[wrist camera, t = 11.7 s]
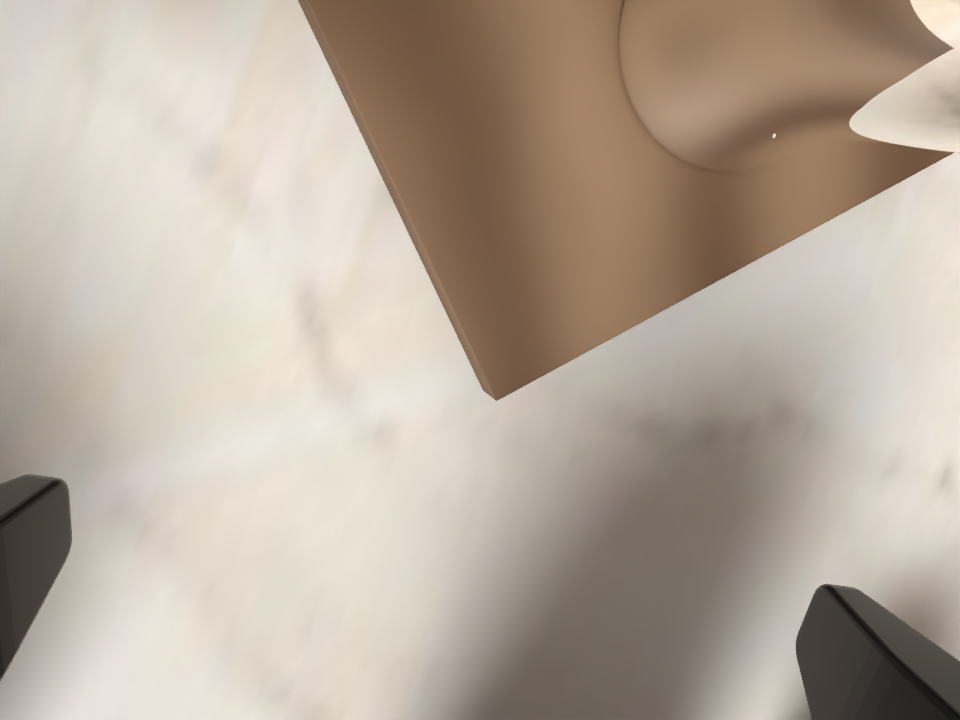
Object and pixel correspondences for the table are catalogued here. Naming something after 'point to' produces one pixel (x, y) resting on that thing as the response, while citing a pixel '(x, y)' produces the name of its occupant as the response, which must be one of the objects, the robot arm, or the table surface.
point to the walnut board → (558, 174)
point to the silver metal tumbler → (791, 75)
